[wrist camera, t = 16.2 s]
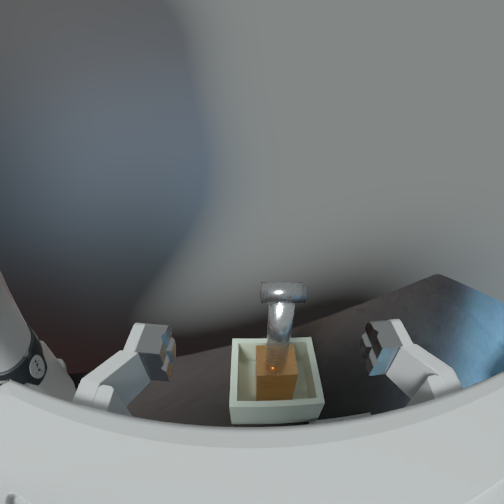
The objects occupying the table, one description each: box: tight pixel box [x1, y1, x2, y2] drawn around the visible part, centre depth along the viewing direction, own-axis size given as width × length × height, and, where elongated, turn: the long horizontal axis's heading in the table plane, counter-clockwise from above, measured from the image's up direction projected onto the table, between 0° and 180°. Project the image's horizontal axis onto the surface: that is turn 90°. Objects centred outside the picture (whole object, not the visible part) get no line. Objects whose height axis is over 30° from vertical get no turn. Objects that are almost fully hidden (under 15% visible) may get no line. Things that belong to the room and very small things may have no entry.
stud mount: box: [308, 412, 371, 424], centre depth 30 cm, size 10×10×8 cm
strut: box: [255, 282, 307, 401], centre depth 36 cm, size 6×6×21 cm
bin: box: [229, 337, 325, 424], centre depth 40 cm, size 13×13×6 cm
